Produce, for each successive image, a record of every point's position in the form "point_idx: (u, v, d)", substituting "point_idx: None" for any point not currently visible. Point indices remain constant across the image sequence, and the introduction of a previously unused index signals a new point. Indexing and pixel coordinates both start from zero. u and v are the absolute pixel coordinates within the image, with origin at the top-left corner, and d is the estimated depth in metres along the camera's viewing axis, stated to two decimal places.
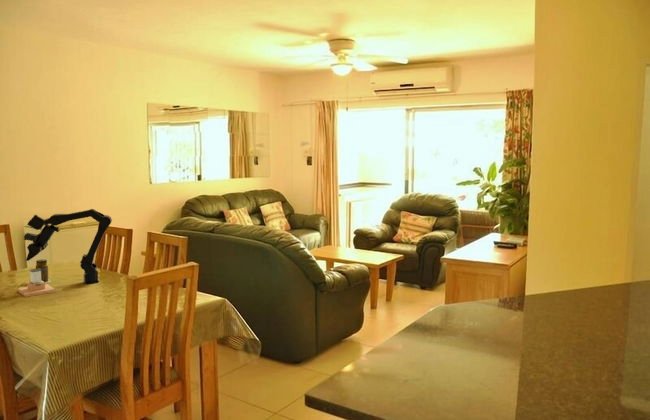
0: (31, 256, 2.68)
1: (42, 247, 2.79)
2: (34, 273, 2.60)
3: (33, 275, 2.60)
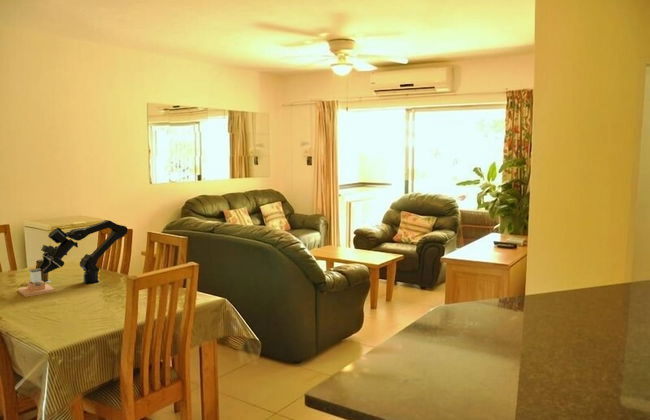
0: (51, 269, 2.62)
1: (50, 261, 2.72)
2: (34, 273, 2.60)
3: (33, 275, 2.60)
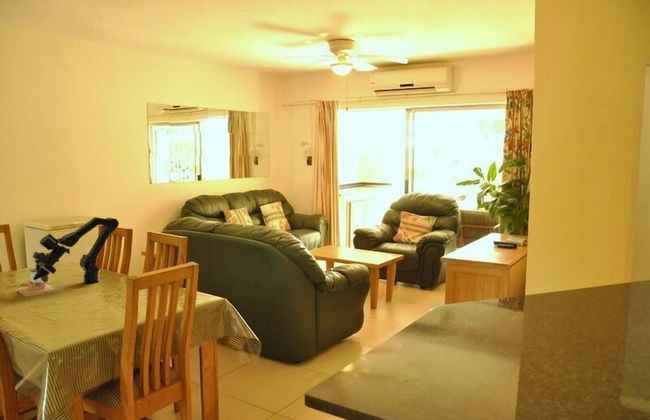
0: (41, 275, 2.61)
1: None
2: (34, 273, 2.60)
3: (33, 275, 2.60)
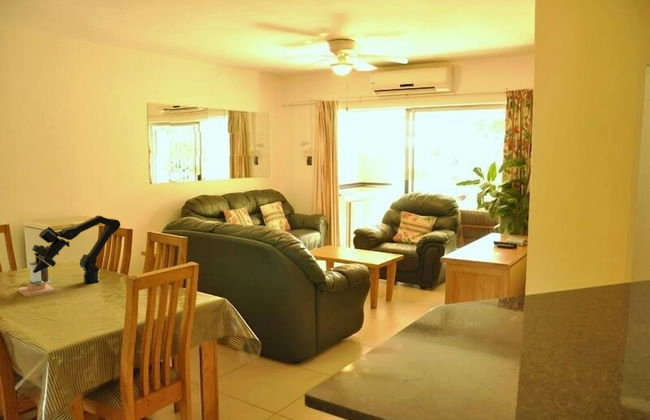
0: (40, 268, 2.61)
1: None
2: (34, 266, 2.60)
3: (33, 268, 2.59)
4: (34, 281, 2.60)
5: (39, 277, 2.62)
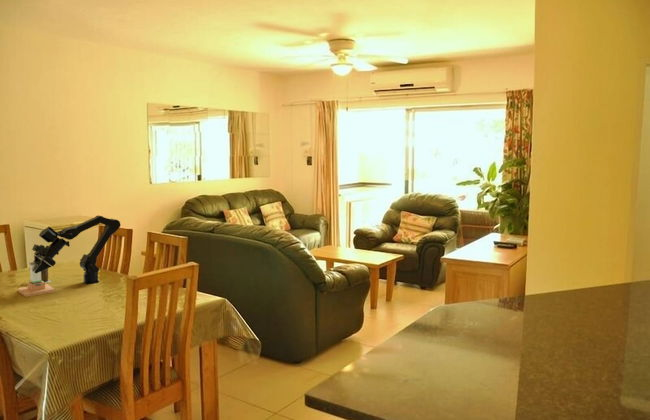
0: (42, 269, 2.59)
1: None
2: (34, 266, 2.60)
3: (33, 268, 2.59)
4: (34, 281, 2.60)
5: (39, 277, 2.62)
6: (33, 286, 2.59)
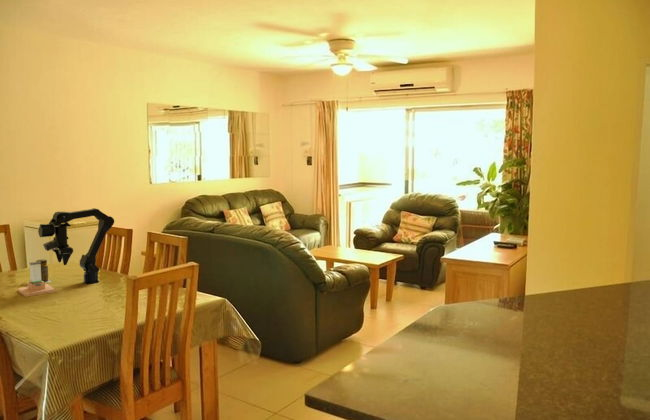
0: (67, 259, 2.67)
1: None
2: (34, 266, 2.60)
3: (33, 268, 2.59)
4: (34, 281, 2.60)
5: (39, 277, 2.62)
6: (33, 286, 2.59)
